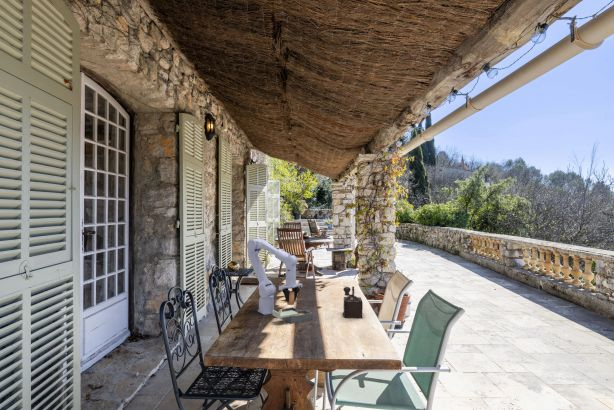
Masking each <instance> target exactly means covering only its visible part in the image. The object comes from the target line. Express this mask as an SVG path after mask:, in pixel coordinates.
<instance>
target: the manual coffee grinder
mask: <svg viewBox="0 0 614 410" xmlns="http://www.w3.org/2000/svg"><path fill="white" fill-rule="evenodd" d="M342 291H343V292H344V293H343V294H344V296H343V312H342V316H343V318H345V319H363V307H364V305H363V299H362V297H360V296H357V295H355V286H352V287H351V288H350V287H349V286H344V287H343V289H342ZM350 292H352V293H351V294H350Z"/></svg>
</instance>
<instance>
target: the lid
mask: <svg viewBox="0 0 614 410" xmlns="http://www.w3.org/2000/svg"><path fill="white" fill-rule="evenodd" d="M294 315H298V313H297V312H295V311H293V310H290V311H284V312H282V311H280V312H279V311H277V310H275V309H274V310H273V313H272V316H273V317H275V318H278V319H281V318H283V317H289V316H294Z"/></svg>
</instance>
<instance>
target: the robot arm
mask: <svg viewBox="0 0 614 410" xmlns="http://www.w3.org/2000/svg"><path fill="white" fill-rule="evenodd" d="M246 248H247V257H248V259H249V261H250V264H251V266H252V269H253V271H254V273H255V276H256V278H257V280H258V282H259V283H258V287H257V288H258V295H259V296H260V297H259V298H258V309H257V312H258V313H260V314H263V315H265V316H266V315H273V310H275V307H274V306H275V304H274V302H275V298H274V297H275V294H276V293H277V288H276V286H275V284H273V282H272V281H271V280H270V279H269V278H268V276H267V274H266V272H265V269H264V267H263V263H262V262H261V260H260V257H259V253H260V252H261V250H262V249H264V250H265V251H267V252H269V253H271V254H273V255H274V258H276V259H277V260H278V261H281V262H282V263H283V264H284V265H285V284H282V285H279V286H278V290H279V291H282V293H283V295H284V299H285V303H287V302H289V293H290V291H294V302H296V300H297V296H298V294H299V292H300V290H301V289H300V288H303V283H297V264H298V262H299V259H298V257H297V256H296V255H295V254H292V255H291V253H288V252H286V251H285V249H284V248H277V247H275V246H274V245H272V244H270V242H268V241H266V240H265V239H263V238H262V237H258V238H250V239H249V240H248V241H247V244H246ZM289 289H291V290H289Z"/></svg>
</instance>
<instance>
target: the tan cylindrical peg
mask: <svg viewBox="0 0 614 410" xmlns="http://www.w3.org/2000/svg"><path fill="white" fill-rule="evenodd" d="M286 304H287V305H288V306H295V301H294V291H292V290H290V293H289V302H286Z"/></svg>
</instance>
